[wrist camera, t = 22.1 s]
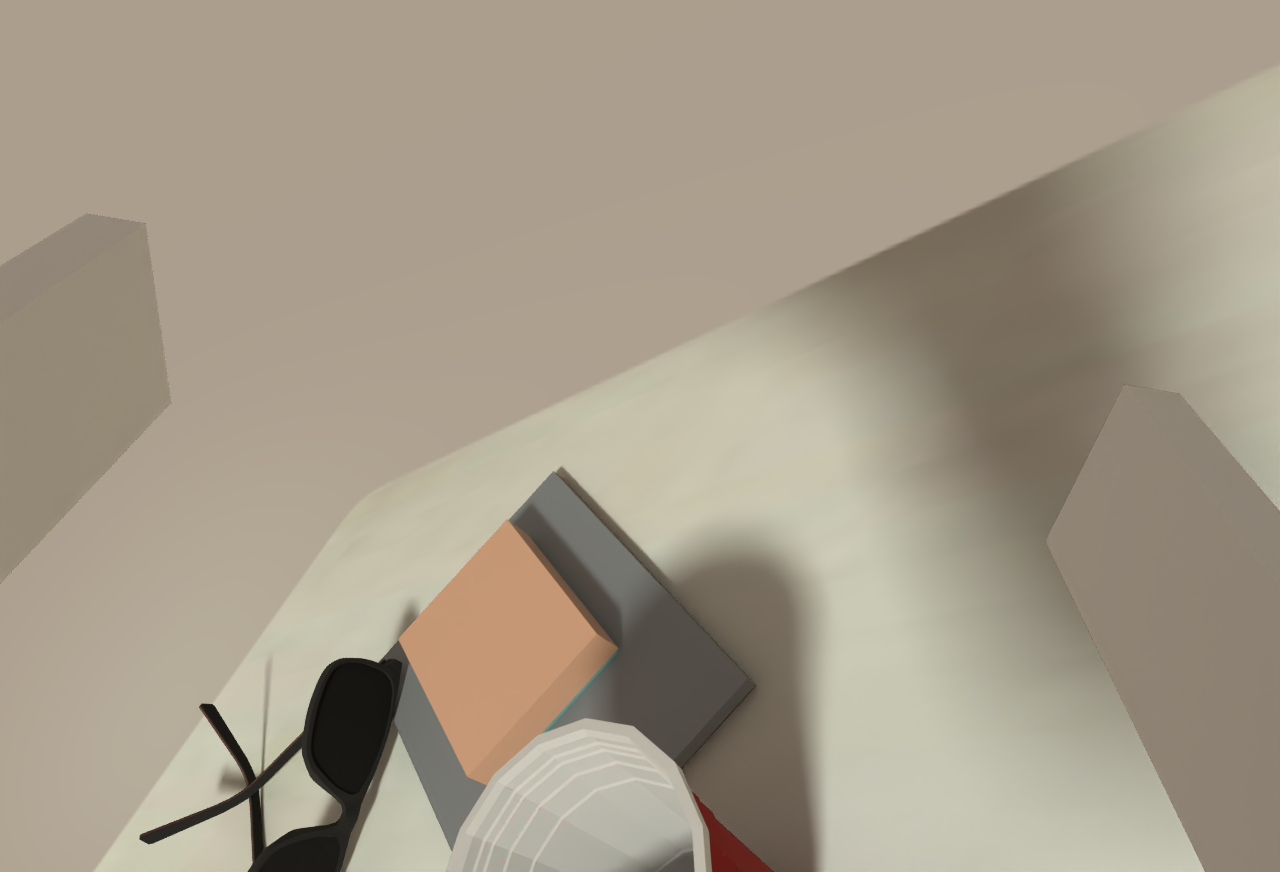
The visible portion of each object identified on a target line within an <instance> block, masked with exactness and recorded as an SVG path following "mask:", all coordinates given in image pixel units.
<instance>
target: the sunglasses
mask: <svg viewBox="0 0 1280 872" xmlns="http://www.w3.org/2000/svg"><path fill="white" fill-rule="evenodd" d="M401 669H402V662H400V661H398V660H396V659H388V660H385V659H383V660H381V661H380V662H379V663H377V662H374V661H371V660H367V659H362V658H342V659H338V660H336V661H334V662H332V663H331V664H329V665H328V666H327V667H326V668H325V670H324V671H323V673H322V674H321V676H320V678H319V680H318V682H317V685H316V687H315V690H314V692H313V695H312V698H311V701H310V704H309V707H308V711H307V715H306V720H305V726H304V731H303V732H302V733H301V734H300V735H299V736H298V737H297V738H296V739H295V740H294V741H293V742H292V743H291V744H290V745H289V746H288V747H287V748H286V749H285V750H284V751H283V752H282V753H281V754H280V755H279V757H278V758H277V759H276V760H275V761H274V762H273V763H272V764H271V765H270V766H269V767H268V768H267V769H266V770H265V771H264V772H263V773H262V774H260V775H259V776H258V777H257V778H256V777H255V775H254V772H253V770H252V767H251V765H250V763H249V761H248V759H247V757H246V756H245V754H244V753H243V751H242V749H241V748H240V746H239V745H238V743H237V741H236V740H235V738H234V736H233V735H232V733H231V732H230V730H229V728H228V727H227V725H226V724H225V722H224V720H223V719H222V717H221V716H220V714H219V712H218V711H217V709H216V707H215V706H214V705H213V704H201V705H200V706H199V708H200V709H201V711H202V712H203V714H204V715H205V717H206V718H207V720H208V721H209V723H210V724H211V725H212V727H213V728H214V730H215V731H216V733H217V734H218V736H219V737H220V739H221V740H222V742H223V743H224V744H225V746H226V747H227V749H228V750H229V752H230V753H231V755H232V756H233V758H234V759H235V761H236V762H237V764H238V766H239V768H240V769H241V771H242V773H243V776H244V778H245V781H246V784H247V787H246V788H245V789H244V790H242V791H241V792H239V793H238V794H236V795H234V796H233V797H231V798H230V799H227V800H225V801H223V802H221V803H219V804H217V805H215V806H212V807H210V808H207V809H204V810H202V811H199V812H197V813H194V814H192V815H189V816H187V817H184V818H181V819H179V820H176V821H174V822H171V823H169V824H166V825H164V826H161V827H158V828H156V829H153V830H151V831H148V832H146V833H143V834H141V835H140V840H141V841H143V842H145V843H147V844H153V843H155V842H157V841H160V840H162V839H164V838H167V837H169V836H171V835H173V834H176V833H178V832H180V831H183V830H185V829H187V828H189V827H192V826H194V825H196V824H199V823H201V822H203V821H205V820H208V819H210V818H212V817H215V816H217V815H219V814H221V813H224V812H225V811H227V810H229V809H231V808H233V807H235V806H237V805H238V804H240V803H241V802H243V801H245V800H246V799H248V798H249V804H250V818H251V840H252V861H253V864H252V866H251V868H250V869H249V871H248V872H340V870H341V867H342V863H343V860H344V856H345V852H346V849H347V845H348V841H349V837H350V834H351V832H352V830H353V828H354V826H355V823H356V821H357V819H358V815H359V811H360V807H361V803H362V801H363V799H364V796H365V794H366V792H367V790H368V787H369V785H370V783H371V781H372V779H373V776H374V774H375V771H376V769H377V766H378V763H379V760H380V758H381V755H382V752H383V749H384V746H385V743H386V740H387V737H388V734H389V730H390V726H391V722H392V718H393V714H394V711H395V705H396V700H397V694H398V688H399V682H400V676H401ZM301 747H302V756H303V759H304V762H305V765H306V768H307V770H308V772H309V775H310V777H311V778H312V779H313V781H315V782H316V783H317V784H318V785H319V786H320V787H322V788H323V789H324V790H325V791H327V792H328V793H329V794H330V795H332V796H333V797H334V798H335V799H336V800H337V801H338V802H339V803H340V804H341V805H342V811H343V812H342V815H341V818H340V819H339V820H338V821H337V822H336V823H332V824H329V825H323V826H315V827H307V828H300V829H295V830H292V831H290V832H288V833H287V834H285V835H283V836H282V837H280V838H279V839H277V840H276V841H275V842H273V843H272V844H271V845H269V846H268V847H266V848H265V849H264V850H263V841H262V825H261V809H260V797H259V789H260V788H261V787H262V786H263V785H264V784H265V783H266V782H267V781H268V780H269V779H270V778H271V777H272V776H273V775H274V774H275V773H276V772H277V771H278V770H279V769H280V768H281V767H282V766H283V765H284V764H285V763H286V762H287V761H288V760H289V759H290V758H291V757H292V756H293V755H294V754H295V753H296V752H297V751H298V750H299V749H300V748H301Z"/></svg>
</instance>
